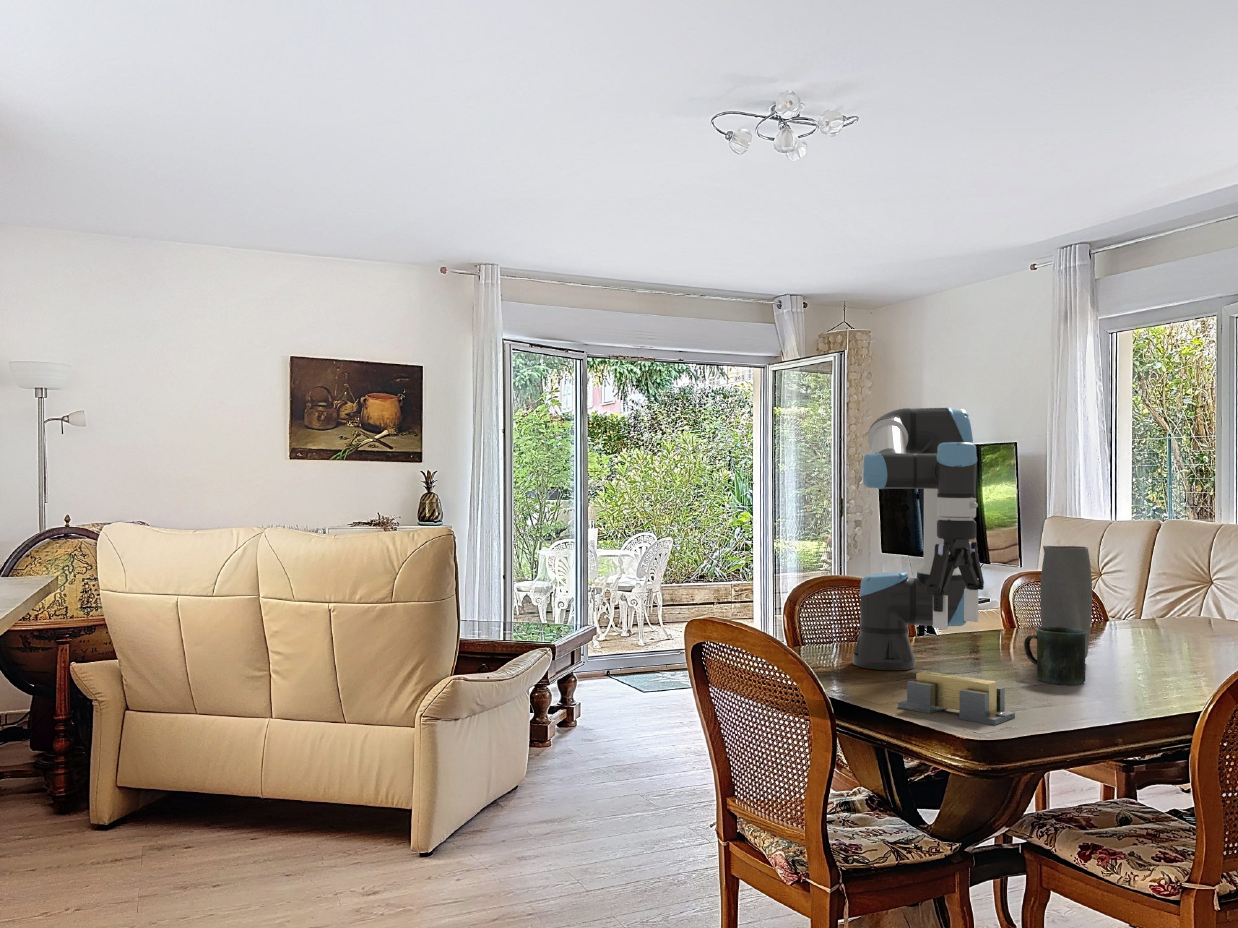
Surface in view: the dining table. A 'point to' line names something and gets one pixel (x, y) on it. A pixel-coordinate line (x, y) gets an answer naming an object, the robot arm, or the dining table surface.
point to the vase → (1066, 589)
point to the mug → (1059, 655)
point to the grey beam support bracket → (983, 707)
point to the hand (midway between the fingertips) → (956, 624)
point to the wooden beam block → (957, 689)
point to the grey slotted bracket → (920, 697)
